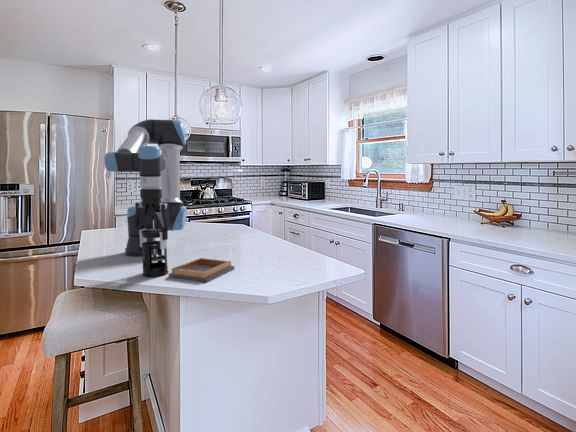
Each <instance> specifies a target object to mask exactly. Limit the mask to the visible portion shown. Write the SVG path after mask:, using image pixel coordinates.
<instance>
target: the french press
mask: <svg viewBox="0 0 576 432" xmlns="http://www.w3.org/2000/svg"><path fill="white" fill-rule="evenodd" d="M147 216H149V217H152V220H153V229H146V230H142V231H141V233H142V234H143V237H144V238H154V241H149V242H144V243H142V253H143V256H142V273H141V274H142V276H143V277H146V278H157V277H162V276H163V275H164V276H166V275H169V270H168V268H169V266H168V256H167V255H168V253H167V252H168V249H167V248H168V247H167V248H165V249H160V240H156V241H155V239H158V238H159V239H160V231H161V229H154V220H155V216H154V215H153V214H151V215H147ZM152 244H154V246H147V245H152ZM155 244H157V245H155ZM152 249H154V254H152ZM155 249H157V253H155ZM162 250H163V251H164V254H163V251H162ZM164 276H163V277H164Z"/></svg>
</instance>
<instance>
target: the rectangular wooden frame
mask: <svg viewBox="0 0 576 432" xmlns="http://www.w3.org/2000/svg"><path fill="white" fill-rule="evenodd" d="M233 270H235V265H232V261H230V260H221V259H213V258H206V257H199V258H196V259H194V260H192V261H189V262H186V263H184V264H180V265H178V266H175V267H173V268H171V272H170V273H168V278H173V279H179V280H186V279H188V281H193V280H194V282H199V281H200V282H201V283H210V282H211V281H212V280H213V281H214V280H215V279H217V278H219V277H221V276H223V275H225V274H227V273H230V272H232V271H233Z"/></svg>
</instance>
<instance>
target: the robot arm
mask: <svg viewBox="0 0 576 432" xmlns="http://www.w3.org/2000/svg"><path fill="white" fill-rule="evenodd" d="M186 144H187V138H186V133H185V127H184V124H183V122H182V121H181V120H179V119H151V118H149V119H146V120H141V121H139V122H137V123H135V124H134V125H132V126H131V128H129V130H128V133H127V137H126V138H125V140H124V141H123V142H122V144H121V145H120V146H119V147H118V149H117V151H115V152H114V151H112V152H110V151H109V152H106V153H105V154H104V158H103V163H104V168H105V170H106V171H107V172H112V173H113V172H115V173H139V187H140V191H139V192H140V199H141V201H139V202H135V204H134V205H132V206H129V207H128V208H127V211H126V213H127V214H126V215H127V216H126V218H127V233H128V235H127V236H128V239H127V243H126V247H125V249H124V251H125V252H124V253H125V255H126V256H129V257H130V256H131V257H143V253H142V243H144V242H149V241H154V238H144V237H143V234H142V233H141V231H142V230H146V229H153V220H152V217H149V216H147V215H151V214H153V215H154V216H155V220H154V229H161V231H160V238H159V241H160V249H162V250H164V249H165V248H168V246H167V243H168V241H167V240H168V239H169V237H168V236H169V234H168V231H172V232H174V231H182V230H183V229H184V227H185V226H186V220H187V207H186V206H185V205H184V203H183V201H182V200H181V186H180V185H181V184H180V183H181V175H180V174H181V173H180V171H181V168H180V167H181V166H180V158H181V157H180V155H181V153H180V152H181V151H182V150H183V148H184V147H183V146H184V145H186ZM154 145H156V146H154ZM155 241H157V238H155ZM155 245H157V244H155ZM147 246H154V244H152V245H147ZM155 254H157V249H155ZM152 255H154V249H152Z"/></svg>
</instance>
